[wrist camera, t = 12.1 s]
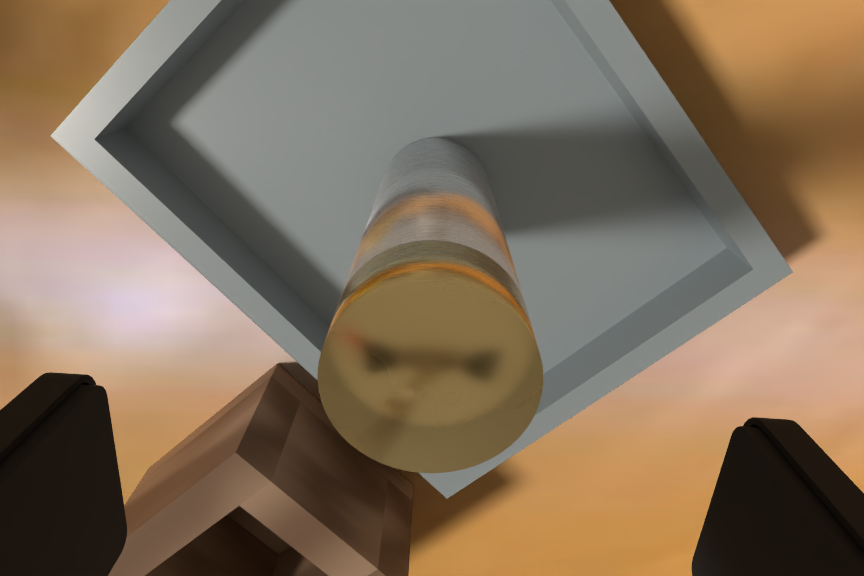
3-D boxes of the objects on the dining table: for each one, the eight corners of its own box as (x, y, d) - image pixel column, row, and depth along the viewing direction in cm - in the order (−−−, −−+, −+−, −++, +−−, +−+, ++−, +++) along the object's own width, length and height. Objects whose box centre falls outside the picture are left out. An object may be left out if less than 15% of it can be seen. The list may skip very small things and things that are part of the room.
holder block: (413, 486, 29) (407, 593, 24) (284, 573, 32) (252, 688, 26) (277, 363, 27) (235, 452, 21) (148, 468, 29) (80, 572, 24)
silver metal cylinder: (511, 197, 23) (588, 395, 11) (430, 261, 24) (420, 506, 12) (441, 113, 21) (442, 233, 10) (359, 185, 23) (270, 373, 11)
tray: (752, 243, 24) (793, 272, 21) (446, 453, 28) (446, 498, 26) (421, -236, 18) (418, -281, 15) (97, 121, 23) (50, 135, 20)
